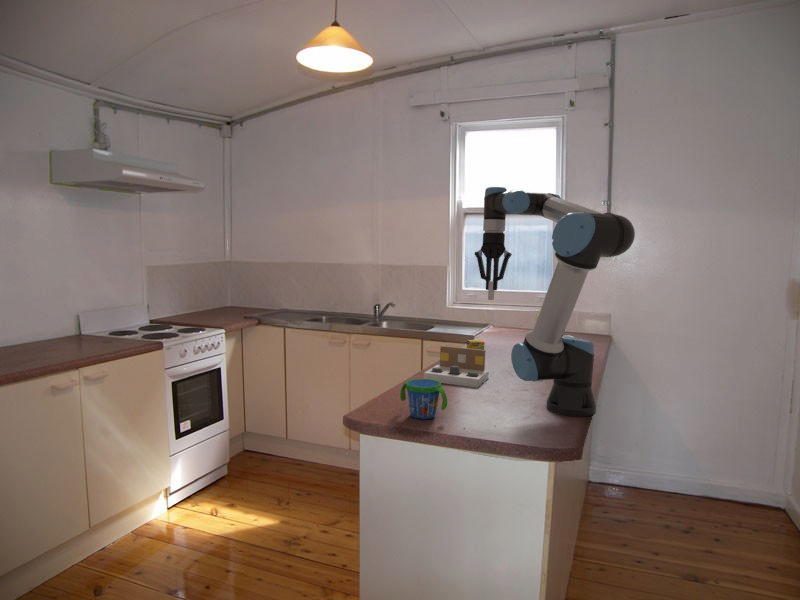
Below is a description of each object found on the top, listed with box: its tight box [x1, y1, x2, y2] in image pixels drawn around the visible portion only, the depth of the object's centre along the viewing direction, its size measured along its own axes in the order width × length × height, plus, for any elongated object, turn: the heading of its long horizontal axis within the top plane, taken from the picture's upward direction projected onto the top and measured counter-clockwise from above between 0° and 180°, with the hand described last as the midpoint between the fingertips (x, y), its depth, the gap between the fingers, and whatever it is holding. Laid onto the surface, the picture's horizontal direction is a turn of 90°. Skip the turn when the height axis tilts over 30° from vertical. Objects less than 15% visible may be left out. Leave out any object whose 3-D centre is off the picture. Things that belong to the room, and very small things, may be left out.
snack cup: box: [399, 378, 448, 420], centre depth 165 cm, size 16×10×10 cm
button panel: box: [423, 345, 490, 388], centre depth 211 cm, size 16×21×11 cm
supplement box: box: [465, 339, 485, 350], centre depth 236 cm, size 6×6×11 cm
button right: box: [468, 372, 478, 377], centre depth 206 cm, size 4×4×4 cm
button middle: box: [450, 366, 460, 375], centre depth 209 cm, size 4×4×4 cm
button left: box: [431, 367, 442, 373], centre depth 211 cm, size 4×4×4 cm
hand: (490, 299), depth 195 cm, fingers closed
